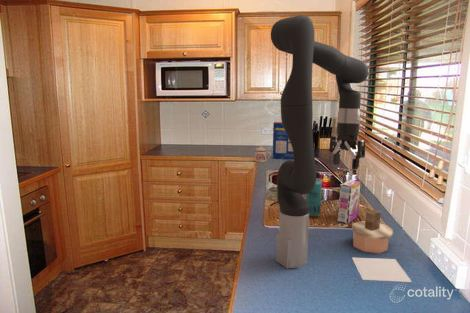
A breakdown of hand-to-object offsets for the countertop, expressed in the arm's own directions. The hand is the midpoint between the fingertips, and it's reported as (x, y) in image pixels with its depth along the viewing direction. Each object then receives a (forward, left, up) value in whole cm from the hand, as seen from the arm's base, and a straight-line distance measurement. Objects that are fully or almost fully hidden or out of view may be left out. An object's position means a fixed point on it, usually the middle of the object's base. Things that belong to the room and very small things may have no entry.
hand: (345, 166), depth 129 cm
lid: (+6, -9, -22) cm, 24 cm away
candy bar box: (+19, +14, -28) cm, 37 cm away
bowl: (+5, -9, -28) cm, 30 cm away
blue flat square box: (+81, +130, -28) cm, 156 cm away
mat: (-6, -22, -28) cm, 36 cm away
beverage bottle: (+8, +24, -28) cm, 38 cm away
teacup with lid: (+55, +132, -28) cm, 146 cm away
